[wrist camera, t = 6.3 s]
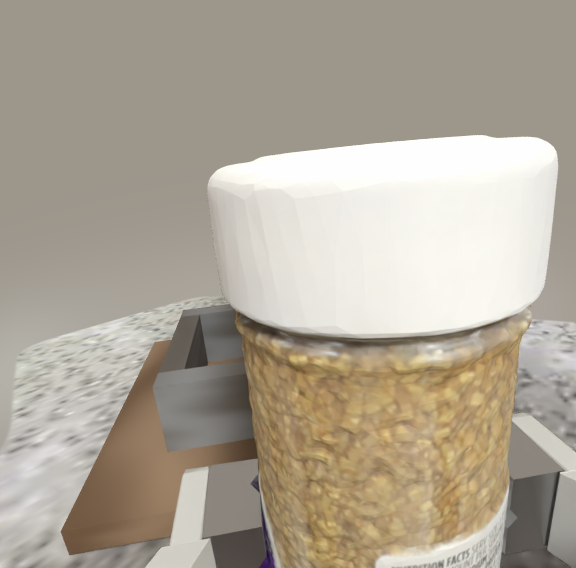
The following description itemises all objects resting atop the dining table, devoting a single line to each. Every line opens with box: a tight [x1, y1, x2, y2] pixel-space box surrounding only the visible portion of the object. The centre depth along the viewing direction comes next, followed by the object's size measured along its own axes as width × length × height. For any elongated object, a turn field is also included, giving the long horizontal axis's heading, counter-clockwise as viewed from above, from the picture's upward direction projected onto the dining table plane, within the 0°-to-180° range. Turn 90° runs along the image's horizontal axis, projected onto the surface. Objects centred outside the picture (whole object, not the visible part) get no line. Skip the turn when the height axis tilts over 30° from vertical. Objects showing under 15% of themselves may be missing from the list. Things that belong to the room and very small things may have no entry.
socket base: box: [61, 304, 258, 555], centre depth 22 cm, size 16×16×5 cm
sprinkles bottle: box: [207, 135, 558, 568], centre depth 7 cm, size 5×5×14 cm
